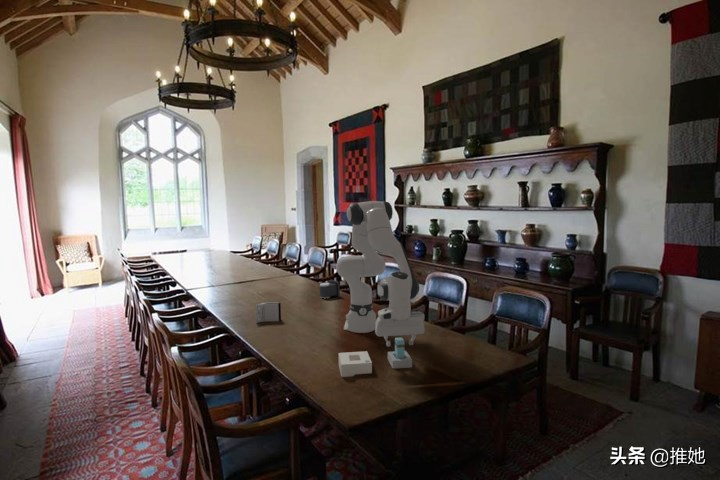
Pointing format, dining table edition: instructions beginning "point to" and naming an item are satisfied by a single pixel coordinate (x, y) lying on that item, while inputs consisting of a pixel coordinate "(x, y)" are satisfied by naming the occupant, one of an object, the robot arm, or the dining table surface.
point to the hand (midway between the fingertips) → (399, 345)
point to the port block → (354, 363)
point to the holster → (400, 360)
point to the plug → (399, 348)
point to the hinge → (268, 312)
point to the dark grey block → (329, 289)
